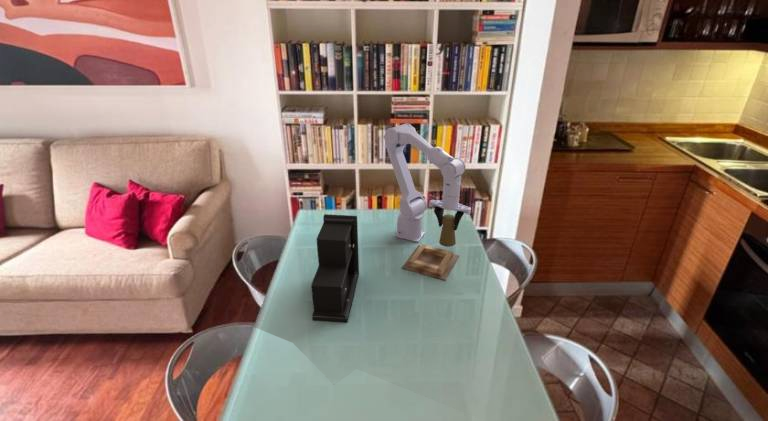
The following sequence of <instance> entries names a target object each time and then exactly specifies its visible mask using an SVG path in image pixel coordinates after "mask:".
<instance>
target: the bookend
mask: <svg viewBox="0 0 768 421" xmlns="http://www.w3.org/2000/svg"><path fill="white" fill-rule="evenodd" d="M322 218H323V223H322V226H321V228H320V231H319V232H318V235H317V237H316V249H317V251H316V252H317V260H318V267H317V270H316V272H315V275H314V276H313V277H314V278H313V280H312V282H311V286H310V287H311V294H312V295H311V296H312V297H311V298H312V305H313V306H312V307H313V313H312V321H319V322H334V323H349V319H350V315H351V310H352V306H353V302H354V299H355V293H356V289H357V286H358V285H357V284H358V281H359V276H360V272H359V271H360V270H359V267H360V266H359V236H358V234H359V233H358V231H359V230H358V215H350V214H349V215H346V214H328V213H324V214H323V217H322Z"/></svg>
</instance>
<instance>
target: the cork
mask: <svg viewBox="0 0 768 421" xmlns="http://www.w3.org/2000/svg"><path fill="white" fill-rule="evenodd" d="M454 226H455V215H452V214H445V215H444V214H443V217H442V226H441V230H440V231H441V232H440V236H439V244H440V245H441V246H442V247H448V248H449V247H451V248H452V247H454V246H455V245H456V243H457V242H456V230H454Z"/></svg>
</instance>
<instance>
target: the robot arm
mask: <svg viewBox="0 0 768 421" xmlns="http://www.w3.org/2000/svg"><path fill="white" fill-rule="evenodd" d="M383 139H384V142H385V145H386V150H387V154H388V157H389V160H390V163H391V165H392V169H393V173H394V175H395V177H396V180H397V184H398V186H399V189H400V193H401V196H400V199H399V201H398V203H399V215H398V217H397V222H396V235H395V237H396V238H400V239H404V240H407V241H410V242H411V241H412V242H415V243H419V242H420V240H421V239H422V237H423V236H424V235H425V234H426V231H423V216H424V212H425V211H427V209H428V203H427V201H426V200H425V198H424V196H423V194H422V192H420V191H418V190H416V187H415V184H414V180H413V178H412V175H411V172H410V168H409V167H408V163H407V160H406V157H405V154H404V149H405V148H406V145H411V146H413V147H415V149H417V150H418V151H421V152H422V153H423V154H425V156H426V159H427V161H429V162H430V164H432V165H434V166H435V167H436V168H437V169H439V170H440V173H441V175H442V177H443V187H442V189H443V190H442V199H441V200H438V199H437V200H436V199H431V200H430V201H429V207H430V208H434V209H433V213H434V214H435V216H436V219H437V222H438V227H439V228H442V226H443V224H442V217H443V216H444V212H445V210H446V211H450V212H451V211H453V212H456V213H455V214H454V216H455V225H454V230H455V231H457V230H458V227H459V223H460V221H461V220H462V219H463V218H462V217H463V216H464V214H466V215H467V216H469V215H470V214H471V212H472V207H470V206H466V205H464V204H462V203H459V202H460V194H461V193H460V192H461V184H462V183H461V182H462V175H463V174H464V173H465V172H466V164H465V162H464V160H462V159H461V158H459V157H453V156H452V155H450V154H449V153H448V152H446V151H445V150H444V149H443V147H441V146H440V147H439V146H433V145H432V144H430V143H429V142H428V141H427V140H425V139H424V137H423V136H421V135H420V134H419V133H417V131H416V128H415V127H414V126H412V125H411V123H408V122H406V123H403V124H400V125H397V126H394V127H389V128H387V129H386V131H385V133H384V135H383Z"/></svg>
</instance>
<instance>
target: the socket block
mask: <svg viewBox="0 0 768 421" xmlns="http://www.w3.org/2000/svg"><path fill="white" fill-rule="evenodd" d="M459 258H460V254H459V255H458V254H456V253H454V252H453V251H450V250H446V249H442V248H438V247H434V246H430V245H427V244H422V243H421V245H420V244H418V245H417V246H416V248H415V249H414V251H413V252H412V253H411V255H410V256H409V257H408V259H406V261H405V262H404V263H403V265H402V266H401V269H403V270H407V271H409V272H414V273H418V274H421V275H423V276H428V277H431V278H435V279H437V280H442V281H447V279H448V277H449V275H450V274H451V271H452V270H453V268H454V266H455V264H456V263H457V261H458V259H459Z"/></svg>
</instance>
